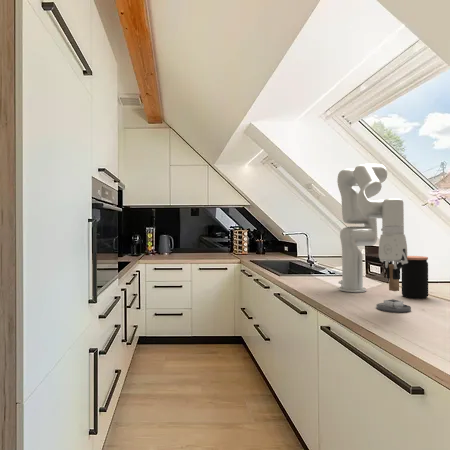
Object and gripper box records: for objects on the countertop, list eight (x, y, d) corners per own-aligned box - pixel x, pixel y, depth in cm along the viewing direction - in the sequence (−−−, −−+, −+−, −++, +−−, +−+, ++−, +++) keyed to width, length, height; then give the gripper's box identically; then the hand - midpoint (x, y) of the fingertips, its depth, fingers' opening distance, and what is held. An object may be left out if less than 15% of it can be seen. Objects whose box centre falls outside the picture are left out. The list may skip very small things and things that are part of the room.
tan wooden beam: (389, 290, 141) (388, 264, 141) (393, 289, 142) (393, 264, 142) (394, 291, 138) (394, 264, 138) (399, 290, 139) (399, 264, 139)
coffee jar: (419, 294, 169) (419, 255, 169) (433, 299, 159) (433, 257, 159) (397, 294, 169) (396, 255, 169) (409, 299, 158) (409, 258, 158)
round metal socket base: (369, 307, 143) (369, 299, 143) (392, 304, 148) (392, 296, 148) (394, 314, 132) (394, 305, 132) (418, 310, 137) (418, 302, 137)
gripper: (369, 231, 146) (370, 277, 146) (403, 231, 131) (403, 282, 131) (384, 230, 149) (384, 276, 149) (418, 230, 134) (418, 280, 134)
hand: (393, 278), depth 140 cm, fingers closed on tan wooden beam, 2 cm apart
